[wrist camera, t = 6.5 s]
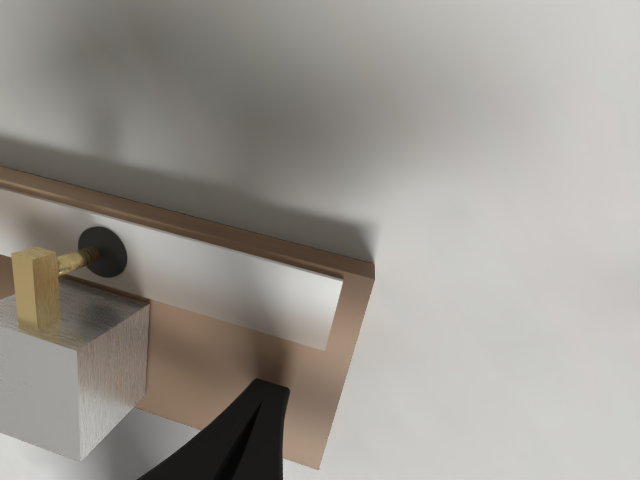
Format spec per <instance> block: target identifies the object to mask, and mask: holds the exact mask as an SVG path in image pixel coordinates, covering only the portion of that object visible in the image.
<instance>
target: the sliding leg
mask: <svg viewBox="0 0 640 480" xmlns="http://www.w3.org/2000/svg"><path fill="white" fill-rule="evenodd" d="M11 257H12V267H13V277H14V287H15V294H14V295H12V296H9V297H6V298H4V299H1V300H0V433H3V434H6V435H9V436H11V437H14V438H17V439H19V440H22V441H25V442H27V443H30V444H33V445H35V446H38V447H41V448H44V449H46V450H49V451H52V452H54V453H57V454H60V455H62V456H65V457H68V458H71V459H73V460H76V461H79V462H81V461H82V460H83V459H84V458H85V457H86V456H87V455H88V454H89V453H90V452H91V451H92V450H93V449H94V448H95V447H96V446H97V445H98V444H99V443H100V442H101V441H102V440H103V439H104V438H105V437H106V435H107V434H108V433H109V432H110V431H111V430H112V429H113V428H114V427H115V426H116V425H117V424H118V423H119V422H120V421H121V420H122V419H123V418H124V417H125V416H126V415H127V414H128V413H129V412H130V411H131V410H132V408H133V407H134V406H135V405H136V404H137V403H138V402H139V401H140V400H141V399H142V398H143V397H144V396H145V387H146V367H147V347H148V327H149V307H150V304H149V303H145V302H142V301H139V300H135V299H132V298H129V297H125V296H122V295H119V294H115V293H112V292H109V291H105V290H102V289H99V288H95V287H92V286H89V285H85V284H82V283H79V282H75V281H72V280H69V279H65V278H62V277H59V278H58V276H61V275H64V274H66V273H69V272H72V271H74V270H77V269H80V268H83V267H85V266H88V265H91V264H93V263H96V262H98V261H100V259H101V254H100V252H99V250H98V249H97V248H95V247H88V248H85V249H82V250H78V251H75V252H72V253H69V254H65V255H62V256H59V257H57V252H54V251H51V250H47V249H44V248H40V247H34V248H30V249H26V250H22V251H18V252H15V253H11Z"/></svg>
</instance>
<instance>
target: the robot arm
mask: <svg viewBox="0 0 640 480" xmlns="http://www.w3.org/2000/svg"><path fill="white" fill-rule="evenodd" d="M289 396H290V390H289V388H288V387H285V386H281V385H278V384H275V383H271V382H268V381H265V380H262V379H258V378H256V379H254V380H253V381H252V382H251V383H250V384H249V385H248V386H247V388H246V389H245V390H244V391H243V392H242V393H241V394H240V395H239V396H238V397H237V398H236V399H235V400H234V401H233V402H232V403H231V404H230V405H229V406H228V407H227V408H226V409H225V410H224V411H223V412H222V413H221V414H220V415H219V416H217V417H216V418H215V419H214V420H213V421H212V422H211V423H210V424H209V425H208V426H206V427H205V428H204V429H203V430H202V431H201V432H199V433H198V434H197V435H196V436H195V437H193V438H192V439H191V440H190V441H189V442H188V443H186V444H185V445H184V446H182V447H181V448H180V449H179V450H177V451H176V452H175V453H174V454H172V455H171V456H170V457H168V458H167V459H165V460H164V461H163V462H161V463H160V464H159V465H157V466H156V467H154V468H153V469H152V470H150V471H149V472H147V473H146V474H144V475H143V476H141V477H140V478H138V479H137V480H283V430H284V419H285V414H286V410H287V405H288V400H289Z"/></svg>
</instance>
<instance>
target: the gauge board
mask: <svg viewBox="0 0 640 480" xmlns="http://www.w3.org/2000/svg"><path fill="white" fill-rule="evenodd" d="M34 247H40V248H44V249H47V250H51V251H54V252H57V257H59V256H62V255H65V254H69V253H72V252H75V251H78V250H82V249H85V248H88V247H95V248H97V249H98V250H99V252H100V254H101V259H100V261H98V262H96V263H93V264H91V265H88V266H85V267H83V268H80V269H77V270H74V271H72V272H69V273H66V274H64V275H61V276H58V278H59V277H62V278H65V279H69V280H72V281H75V282H79V283H82V284H85V285H89V286H92V287H95V288H99V289H102V290H105V291H109V292H112V293H115V294H119V295H122V296H125V297H129V298H132V299H135V300H139V301H142V302H145V303H149V304H150V307H149V327H148V347H147V367H146V387H145V396H144V397H143V398H142V399H141V400H140V401H139V402H138V403H137V404H136V405H135V406H134V407H135V408H138V409H141V410H144V411H147V412H150V413H153V414H156V415H159V416H162V417H164V418H167V419H170V420H173V421H176V422H179V423H182V424H185V425H188V426H191V427H194V428H197V429H200V430H203V429H204V428H205V427H206V426H208V425H209V424H210V423H211V422H212V421H213V420H214V419H215V418H216V417H217V416H219V415H220V414H221V413H222V412H223V411H224V410H225V409H226V408H227V407H228V406H229V405H230V404H231V403H232V402H233V401H234V400H235V399H236V398H237V397H238V396H239V395H240V394H241V393H242V392H243V391H244V390H245V389H246V388H247V386H248V385H249V384H250V383H251V382H252V381H253V380H254V379H256V378H258V379H262V380H265V381H268V382H271V383H275V384H278V385H281V386H285V387H288V388H289V390H290V396H289V400H288V405H287V410H286V414H285V419H284V430H283V458H284V459H287V460H290V461H293V462H296V463H299V464H302V465H305V466H308V467H311V468H314V469H317V470H319V466H320V463H321V460H322V456H323V453H324V450H325V446H326V443H327V439H328V436H329V433H330V429H331V426H332V422H333V419H334V416H335V412H336V409H337V406H338V402H339V399H340V395H341V392H342V389H343V385H344V382H345V379H346V375H347V372H348V368H349V365H350V362H351V358H352V355H353V352H354V348H355V345H356V341H357V338H358V335H359V331H360V328H361V324H362V321H363V318H364V314H365V311H366V308H367V304H368V301H369V297H370V294H371V291H372V287H373V284H374V281H375V264H371V263H368V262H364V261H360V260H356V259H352V258H349V257H345V256H341V255H337V254H333V253H330V252H326V251H322V250H318V249H314V248H310V247H307V246H303V245H299V244H295V243H291V242H288V241H284V240H280V239H276V238H272V237H269V236H265V235H261V234H257V233H253V232H250V231H246V230H242V229H238V228H234V227H231V226H227V225H223V224H219V223H215V222H211V221H208V220H204V219H200V218H196V217H192V216H189V215H185V214H181V213H177V212H173V211H170V210H166V209H162V208H158V207H154V206H151V205H147V204H143V203H139V202H135V201H132V200H128V199H124V198H120V197H116V196H112V195H109V194H105V193H101V192H97V191H93V190H90V189H86V188H82V187H78V186H74V185H71V184H67V183H63V182H59V181H55V180H52V179H48V178H44V177H40V176H36V175H33V174H29V173H25V172H21V171H17V170H13V169H10V168H6V167H2V166H0V300H1V299H4V298H6V297H9V296H12V295H14V294H15V287H14V277H13V267H12V257H11V253H15V252H18V251H22V250H26V249H30V248H34Z"/></svg>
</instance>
